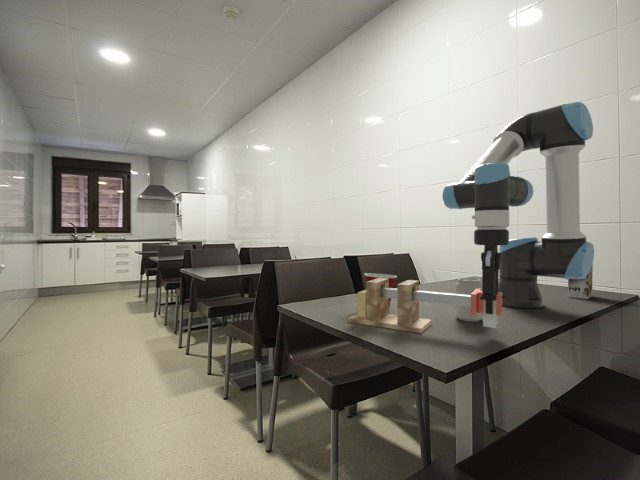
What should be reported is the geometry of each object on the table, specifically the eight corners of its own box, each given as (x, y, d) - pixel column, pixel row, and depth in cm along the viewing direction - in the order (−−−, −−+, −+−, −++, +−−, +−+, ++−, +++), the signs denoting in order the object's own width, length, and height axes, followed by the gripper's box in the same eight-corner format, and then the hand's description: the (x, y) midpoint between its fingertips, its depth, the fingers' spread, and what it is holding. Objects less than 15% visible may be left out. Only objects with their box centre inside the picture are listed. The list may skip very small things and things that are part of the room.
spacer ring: (376, 313, 104) (376, 289, 103) (365, 319, 97) (365, 293, 97) (368, 312, 105) (368, 288, 105) (358, 317, 99) (358, 292, 98)
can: (486, 323, 97) (486, 280, 96) (458, 322, 98) (458, 280, 98) (479, 316, 104) (479, 277, 104) (453, 315, 105) (453, 276, 105)
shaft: (503, 310, 86) (503, 290, 86) (500, 318, 78) (500, 296, 78) (386, 297, 103) (385, 281, 103) (373, 303, 95) (373, 285, 95)
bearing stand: (431, 324, 96) (431, 281, 96) (421, 333, 88) (421, 286, 87) (363, 314, 107) (363, 276, 107) (348, 321, 99) (348, 280, 99)
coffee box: (588, 299, 128) (588, 256, 127) (567, 297, 133) (567, 255, 132) (593, 296, 134) (593, 255, 134) (572, 294, 139) (573, 254, 138)
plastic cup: (404, 311, 112) (404, 274, 112) (378, 315, 106) (378, 276, 106) (382, 304, 121) (382, 271, 121) (357, 308, 116) (357, 273, 116)
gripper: (479, 228, 92) (478, 315, 92) (468, 228, 78) (468, 330, 79) (511, 228, 88) (510, 319, 88) (506, 228, 74) (505, 336, 75)
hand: (490, 324), depth 84 cm, fingers closed on shaft, 3 cm apart
